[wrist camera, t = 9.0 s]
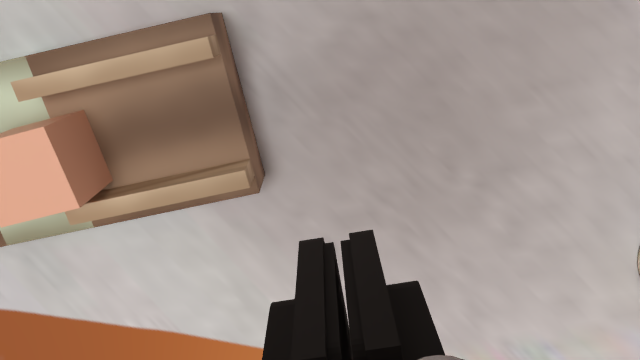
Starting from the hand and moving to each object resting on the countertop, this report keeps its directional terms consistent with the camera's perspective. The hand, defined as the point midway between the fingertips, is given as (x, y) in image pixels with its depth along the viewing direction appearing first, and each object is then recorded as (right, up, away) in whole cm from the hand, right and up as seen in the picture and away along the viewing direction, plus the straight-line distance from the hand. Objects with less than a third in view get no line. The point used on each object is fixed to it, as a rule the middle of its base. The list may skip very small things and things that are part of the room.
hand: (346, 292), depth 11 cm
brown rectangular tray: (-18, +6, +25) cm, 32 cm away
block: (-18, +4, +22) cm, 28 cm away
